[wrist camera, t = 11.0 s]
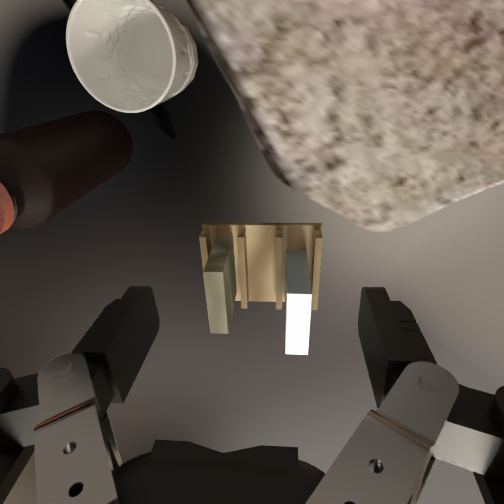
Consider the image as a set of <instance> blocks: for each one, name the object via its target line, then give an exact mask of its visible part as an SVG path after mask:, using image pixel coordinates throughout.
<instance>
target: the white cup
mask: <svg viewBox="0 0 504 504" xmlns="http://www.w3.org/2000/svg"><path fill="white" fill-rule="evenodd" d="M66 46H67V52H68V56H69V60H70V63H71V65H72V68H73V70H74V72H75V74H76V76H77V78H78V79H79V81H80V82H81V84H82V85H83V87H84V88H85V89H86V90H87V91H88V92H89V94H90V95H91V96H93V97H94V98H95V99H96V100H97V101H99V102H100V103H102V104H103V105H105V106H107V107H109V108H111V109H114V110H116V111H121V112H126V113H136V112H142V111H145V110H148V109H150V108H152V107H154V106H156V105H158V104H160V103H162V102H164V101H166V100H168V99H170V98H171V97H173V96H175V95H176V94H178V93H179V92H180V91H183V90H184V89H185V87H186V86H187V85H188V84H189V83H190V82H191V81H192V80H193V78H194V75H195V71H196V68H197V65H198V57H197V48H196V43H195V42H194V40H193V38H192V36H191V34H190V32H189V30H188V28H187V27H186V26H184V25H183V24H182V23H181V22H180V21H178V20H177V18H176V17H175V16H173V15H172V14H171V13H169V12H168V11H167V10H165V9H164V8H163V7H161V6H160V5H158V4H157V3H155V2H154V1H152V0H77V1H76V3H75V4H74V6H73V8H72V10H71V12H70V15H69V18H68V22H67V27H66Z"/></svg>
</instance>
